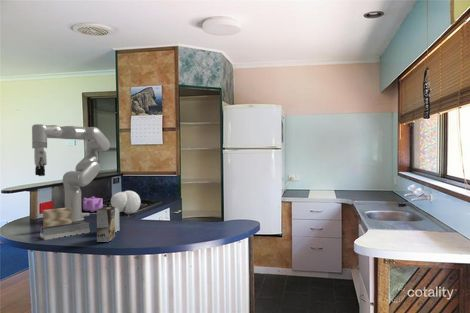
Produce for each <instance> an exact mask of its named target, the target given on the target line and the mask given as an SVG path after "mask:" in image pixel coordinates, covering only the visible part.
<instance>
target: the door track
mask: <svg viewBox="0 0 470 313" xmlns="http://www.w3.org/2000/svg"><path fill="white" fill-rule="evenodd" d="M89 232H91V229H90V222H86V221H84V220H82V221H77V222H72V223H68V224H61V225H55V226H48V227H43V226H42V227H40V233H39V237H40V238H41V239H42V240H44V241H47V240H54V239H59V237H60V238H64V236H66V237H70V235H72V236H76V234H78V235H82V233H84V234H89ZM53 238H54V239H53Z"/></svg>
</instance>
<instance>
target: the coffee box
mask: <svg viewBox="0 0 470 313" xmlns="http://www.w3.org/2000/svg"><path fill="white" fill-rule="evenodd" d="M114 237H115V238H116V233H115V207H112V206H103V207H102V208H100V209H97V210H96V243H97V242H109V241H111V240H112V239H113V238H114ZM115 238H114V239H115ZM114 239H113V240H114ZM113 240H112V241H113ZM112 241H111V242H112ZM109 243H110V242H109Z"/></svg>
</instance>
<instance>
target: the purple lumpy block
mask: <svg viewBox="0 0 470 313" xmlns="http://www.w3.org/2000/svg"><path fill="white" fill-rule="evenodd" d="M82 203H83V204H82V210H83V211H89V212H90V213H91V212H93V213H94V212H95V211H96V212H97V209H100V208H102V207H104V204H103V198H100V197H96V196H90V197H89V198H87V197H83V199H82Z"/></svg>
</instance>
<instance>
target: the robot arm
mask: <svg viewBox="0 0 470 313" xmlns="http://www.w3.org/2000/svg"><path fill="white" fill-rule="evenodd" d="M48 139H61V140H79V141H87V143H86V155H85V156H84V157H83V158H82V159H81V160H80V161H79V162H78V163H77V164H76V165H75V170H70V171H66V172H65V173H64V174H63V175H62V184H63V189H64V208H67V207H71V208H72V223H75V222H82V221H84V220H85V217H89V216H90V213H89V212H82V190H81V187H86V186H87V185H89V184H90V183H91V182H92V181H93V180H94V179H95V177H97V175H99V173H100V170H101V166H100V165H101V164H100V163H99V162H98V161H99V154H98V152H108V151H109V149H110V148H111V144H110V143H111V142H110V141H109V138H108V137H106V136H105V134H104V133H103V132H102V131H101V130H100V129H99V128H98V127H97V126H90V127H89V126H87V127H84V126H77V125H76V126H75V125H63V126H59V125H57V124H51V125H48V124H43V123H42V124H35V123H34V124H33V125H32V126H31V145H32V146H31V147H32V149H34V152H33V153H34V155H33V156H34V158H33V159H34V165H35V168H34V169H35V170H34V173H35V176H38V177H45V176H46V172H45V171H46V169H45V166H47V164H48V161H47V160H48V159H47V149H48Z"/></svg>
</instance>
